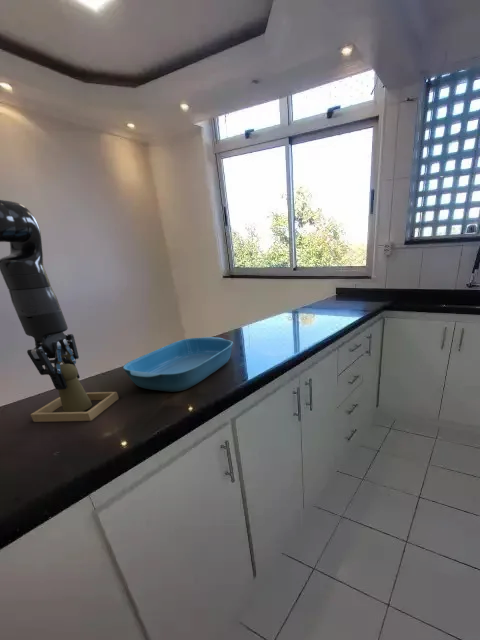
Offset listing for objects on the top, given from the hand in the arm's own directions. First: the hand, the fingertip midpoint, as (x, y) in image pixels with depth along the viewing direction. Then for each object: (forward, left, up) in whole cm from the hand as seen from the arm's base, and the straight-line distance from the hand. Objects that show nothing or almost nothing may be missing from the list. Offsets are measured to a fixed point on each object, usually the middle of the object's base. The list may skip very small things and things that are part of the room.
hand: (68, 383), depth 73 cm
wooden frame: (0, 0, -8) cm, 8 cm away
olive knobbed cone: (0, 0, -7) cm, 7 cm away
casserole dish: (+18, +25, -8) cm, 32 cm away
